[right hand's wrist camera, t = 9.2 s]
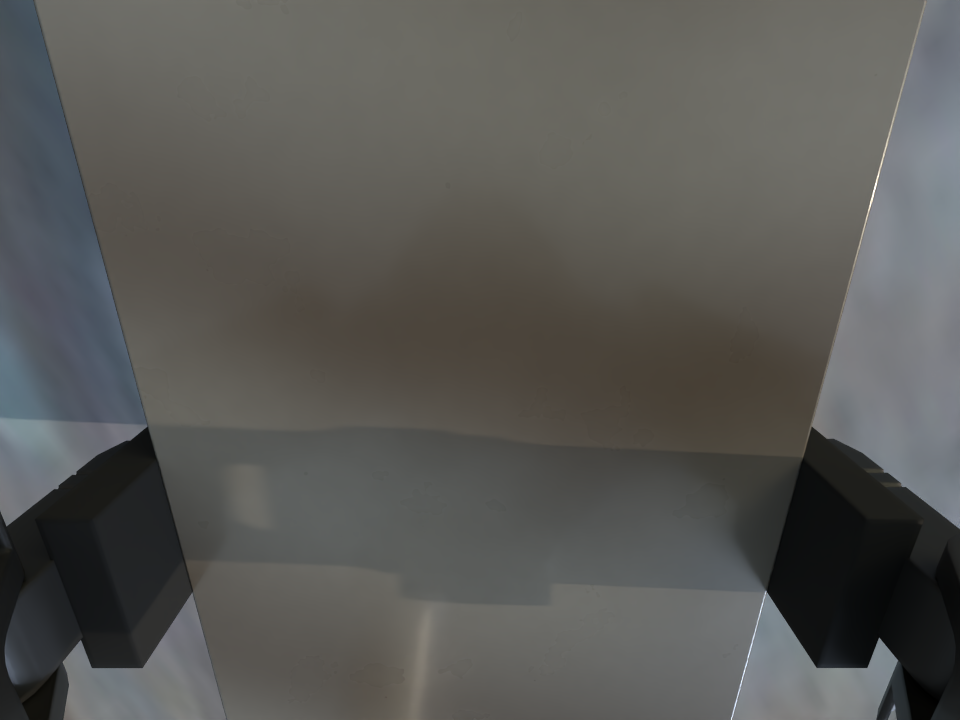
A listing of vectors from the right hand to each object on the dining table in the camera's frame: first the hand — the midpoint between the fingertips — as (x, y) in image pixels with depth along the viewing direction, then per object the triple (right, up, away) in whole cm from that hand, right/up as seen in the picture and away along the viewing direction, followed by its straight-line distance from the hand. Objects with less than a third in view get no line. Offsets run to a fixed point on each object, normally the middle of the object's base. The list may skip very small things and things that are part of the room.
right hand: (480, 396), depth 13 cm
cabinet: (0, +6, +4) cm, 7 cm away
